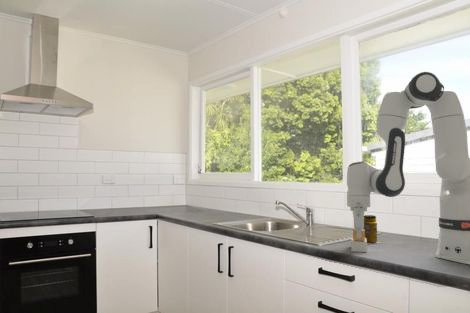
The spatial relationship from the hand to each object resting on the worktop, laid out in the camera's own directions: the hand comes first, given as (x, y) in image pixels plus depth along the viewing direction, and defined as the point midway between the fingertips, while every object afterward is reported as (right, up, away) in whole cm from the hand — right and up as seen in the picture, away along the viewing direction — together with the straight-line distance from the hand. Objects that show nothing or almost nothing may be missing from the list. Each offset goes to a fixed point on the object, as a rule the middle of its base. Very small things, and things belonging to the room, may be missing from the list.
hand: (358, 237), depth 147 cm
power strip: (+2, -6, +6) cm, 9 cm away
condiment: (+12, -7, +22) cm, 26 cm away
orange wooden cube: (+1, -2, +4) cm, 5 cm away
